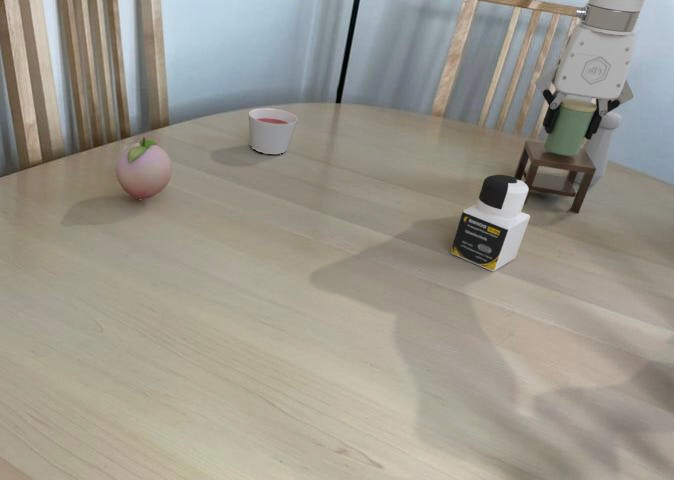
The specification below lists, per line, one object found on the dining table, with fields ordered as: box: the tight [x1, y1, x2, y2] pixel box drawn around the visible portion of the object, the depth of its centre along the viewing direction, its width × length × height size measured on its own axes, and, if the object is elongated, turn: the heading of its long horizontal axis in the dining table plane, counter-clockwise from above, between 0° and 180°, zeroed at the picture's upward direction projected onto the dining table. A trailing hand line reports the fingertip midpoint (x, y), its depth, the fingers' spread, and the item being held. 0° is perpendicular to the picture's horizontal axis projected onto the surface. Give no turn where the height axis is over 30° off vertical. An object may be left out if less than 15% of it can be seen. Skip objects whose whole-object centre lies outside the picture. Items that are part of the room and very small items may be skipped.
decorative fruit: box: [115, 137, 173, 200], centre depth 114 cm, size 9×8×10 cm
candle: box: [248, 107, 298, 154], centre depth 139 cm, size 9×9×6 cm
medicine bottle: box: [450, 174, 531, 273], centre depth 107 cm, size 7×7×12 cm
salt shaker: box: [574, 110, 623, 186], centre depth 137 cm, size 6×6×13 cm
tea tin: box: [544, 97, 597, 156], centre depth 125 cm, size 6×6×8 cm
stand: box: [513, 139, 596, 214], centre depth 130 cm, size 10×10×8 cm
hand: (567, 133), depth 125 cm, fingers closed on tea tin, 5 cm apart
